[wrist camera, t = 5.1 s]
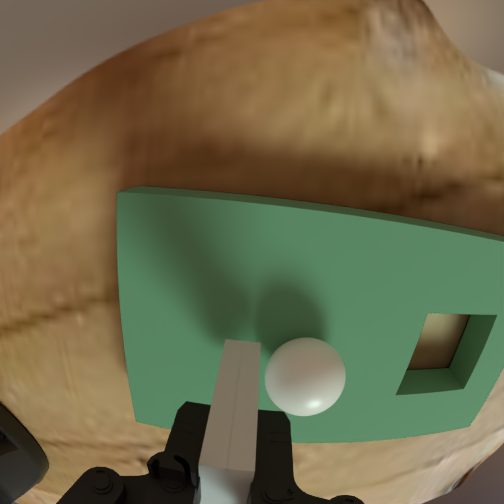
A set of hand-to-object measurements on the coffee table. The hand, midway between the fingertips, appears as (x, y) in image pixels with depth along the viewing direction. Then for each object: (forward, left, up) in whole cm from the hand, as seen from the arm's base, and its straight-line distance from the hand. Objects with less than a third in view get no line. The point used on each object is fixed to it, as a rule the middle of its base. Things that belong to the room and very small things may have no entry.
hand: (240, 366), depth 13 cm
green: (+6, 0, -4) cm, 7 cm away
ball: (+3, 0, 0) cm, 3 cm away
